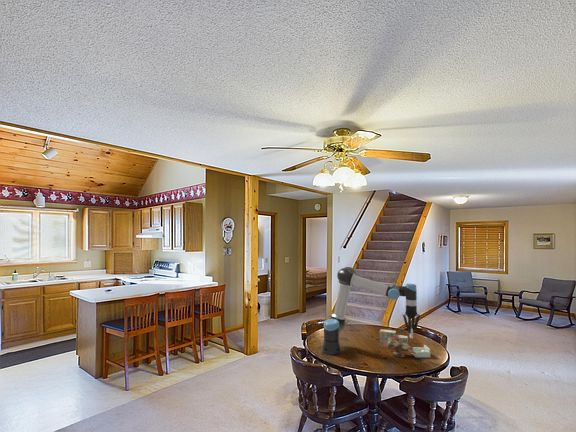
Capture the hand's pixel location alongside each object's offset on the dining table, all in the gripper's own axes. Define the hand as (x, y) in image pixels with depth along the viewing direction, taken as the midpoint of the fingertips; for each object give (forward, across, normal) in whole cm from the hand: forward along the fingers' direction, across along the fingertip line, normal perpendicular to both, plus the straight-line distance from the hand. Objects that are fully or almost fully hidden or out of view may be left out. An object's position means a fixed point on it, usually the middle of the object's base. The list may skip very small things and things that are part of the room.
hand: (411, 337), depth 245 cm
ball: (+12, +11, +6) cm, 18 cm away
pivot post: (+15, -7, +6) cm, 18 cm away
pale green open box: (+15, +9, +6) cm, 18 cm away
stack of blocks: (+15, -6, +24) cm, 29 cm away
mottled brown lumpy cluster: (+12, -7, +4) cm, 15 cm away
